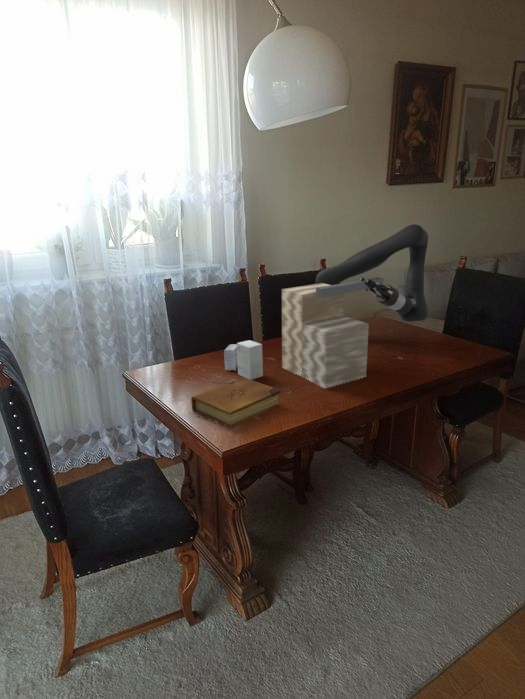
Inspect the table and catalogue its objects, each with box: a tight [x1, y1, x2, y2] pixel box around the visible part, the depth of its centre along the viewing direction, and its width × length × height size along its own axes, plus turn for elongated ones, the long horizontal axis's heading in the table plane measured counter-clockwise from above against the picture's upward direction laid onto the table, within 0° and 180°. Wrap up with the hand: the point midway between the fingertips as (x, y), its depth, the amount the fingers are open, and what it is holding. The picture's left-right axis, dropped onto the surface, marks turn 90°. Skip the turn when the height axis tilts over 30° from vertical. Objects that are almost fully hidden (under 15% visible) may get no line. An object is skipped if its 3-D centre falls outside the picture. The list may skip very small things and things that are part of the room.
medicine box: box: [223, 343, 238, 372], centre depth 203 cm, size 8×4×9 cm, turn 168°
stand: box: [281, 283, 370, 389], centre depth 192 cm, size 27×20×32 cm
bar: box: [316, 277, 384, 298], centre depth 184 cm, size 3×30×3 cm, turn 123°
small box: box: [236, 339, 264, 380], centre depth 193 cm, size 8×6×13 cm
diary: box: [190, 376, 282, 428], centre depth 167 cm, size 23×19×6 cm
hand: (364, 280), depth 186 cm, fingers closed on bar, 3 cm apart
